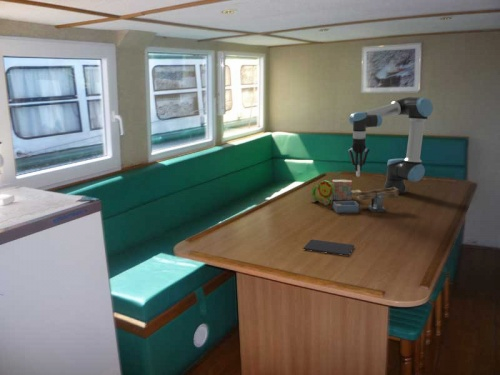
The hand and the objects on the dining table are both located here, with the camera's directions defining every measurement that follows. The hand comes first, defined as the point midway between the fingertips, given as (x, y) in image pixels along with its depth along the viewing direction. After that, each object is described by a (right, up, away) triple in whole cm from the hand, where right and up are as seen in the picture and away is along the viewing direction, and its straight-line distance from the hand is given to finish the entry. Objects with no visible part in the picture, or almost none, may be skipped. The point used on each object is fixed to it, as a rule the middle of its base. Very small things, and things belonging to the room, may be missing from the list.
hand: (357, 176), depth 281 cm
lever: (+10, -13, -3) cm, 16 cm away
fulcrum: (+10, -20, -7) cm, 23 cm away
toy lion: (-20, -17, +9) cm, 28 cm away
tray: (-9, -21, -8) cm, 24 cm away
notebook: (-30, -36, -68) cm, 83 cm away
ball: (-13, -19, -8) cm, 24 cm away
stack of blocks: (-10, -15, +20) cm, 27 cm away
